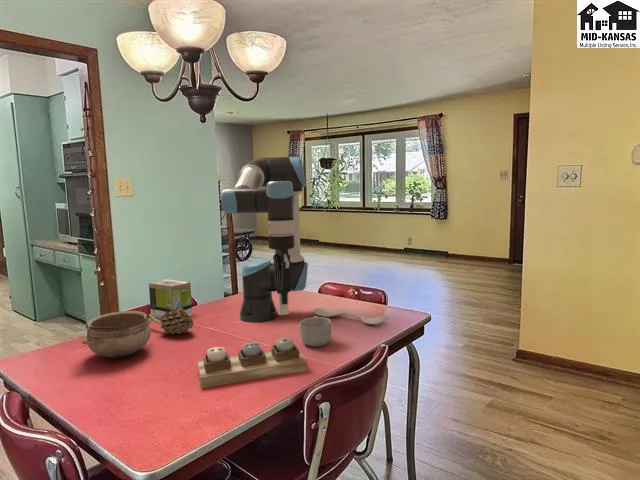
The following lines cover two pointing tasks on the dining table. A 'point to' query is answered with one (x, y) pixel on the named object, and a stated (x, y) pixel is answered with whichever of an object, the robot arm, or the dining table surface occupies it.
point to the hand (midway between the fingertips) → (283, 313)
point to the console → (250, 367)
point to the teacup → (315, 331)
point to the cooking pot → (118, 333)
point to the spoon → (330, 313)
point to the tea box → (169, 296)
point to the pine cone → (175, 321)
